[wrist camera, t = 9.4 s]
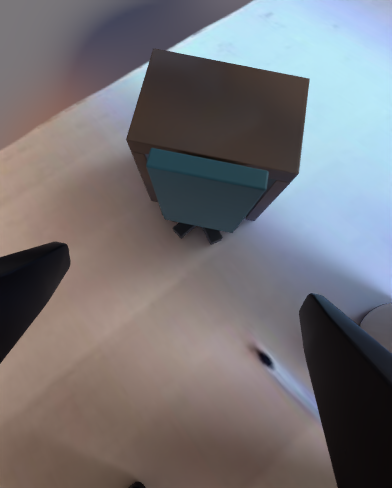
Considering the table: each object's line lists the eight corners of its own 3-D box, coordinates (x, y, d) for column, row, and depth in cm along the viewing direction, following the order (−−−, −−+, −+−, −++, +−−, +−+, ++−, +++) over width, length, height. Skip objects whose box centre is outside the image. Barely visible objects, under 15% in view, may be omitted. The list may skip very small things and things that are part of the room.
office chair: (228, 249, 19) (283, 193, 8) (162, 236, 19) (128, 162, 8) (239, 190, 20) (299, 70, 9) (176, 177, 20) (162, 44, 9)
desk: (254, 221, 19) (299, 174, 11) (151, 200, 19) (125, 139, 12) (263, 159, 21) (310, 78, 13) (166, 140, 21) (153, 47, 13)
